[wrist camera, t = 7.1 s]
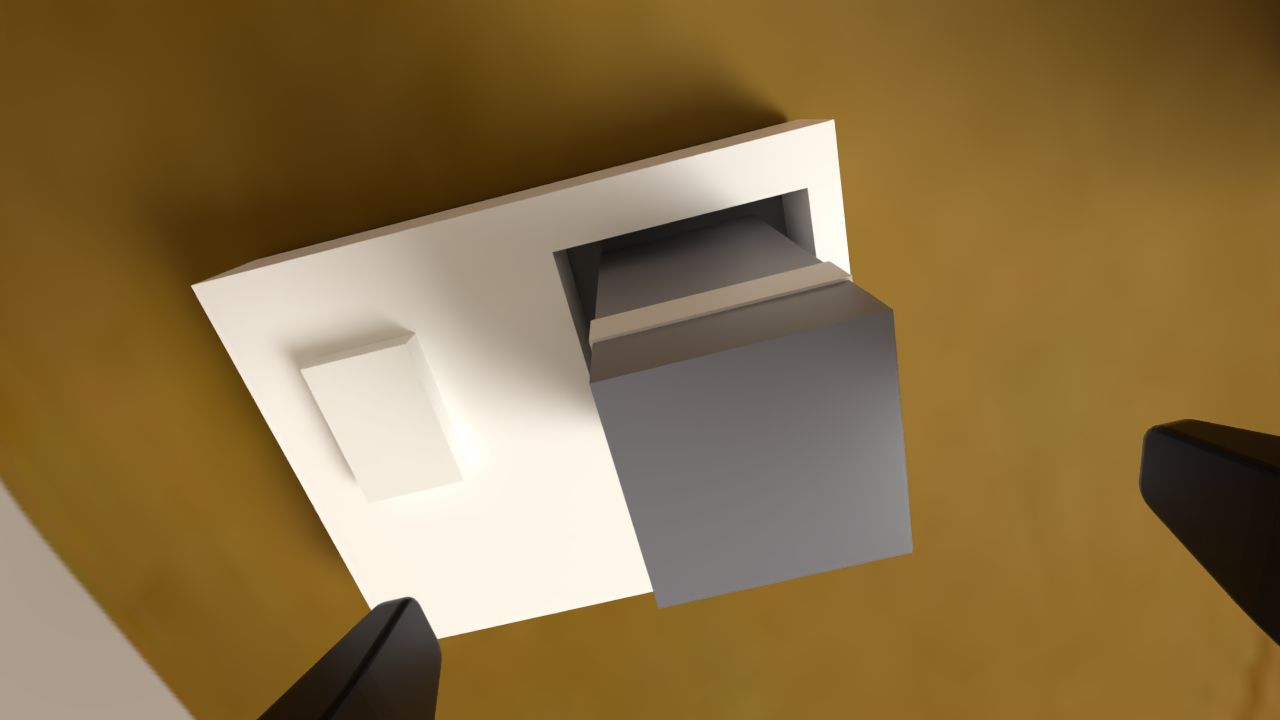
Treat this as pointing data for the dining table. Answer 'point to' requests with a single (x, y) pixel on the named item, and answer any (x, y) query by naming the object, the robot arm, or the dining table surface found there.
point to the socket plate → (489, 372)
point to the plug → (748, 410)
